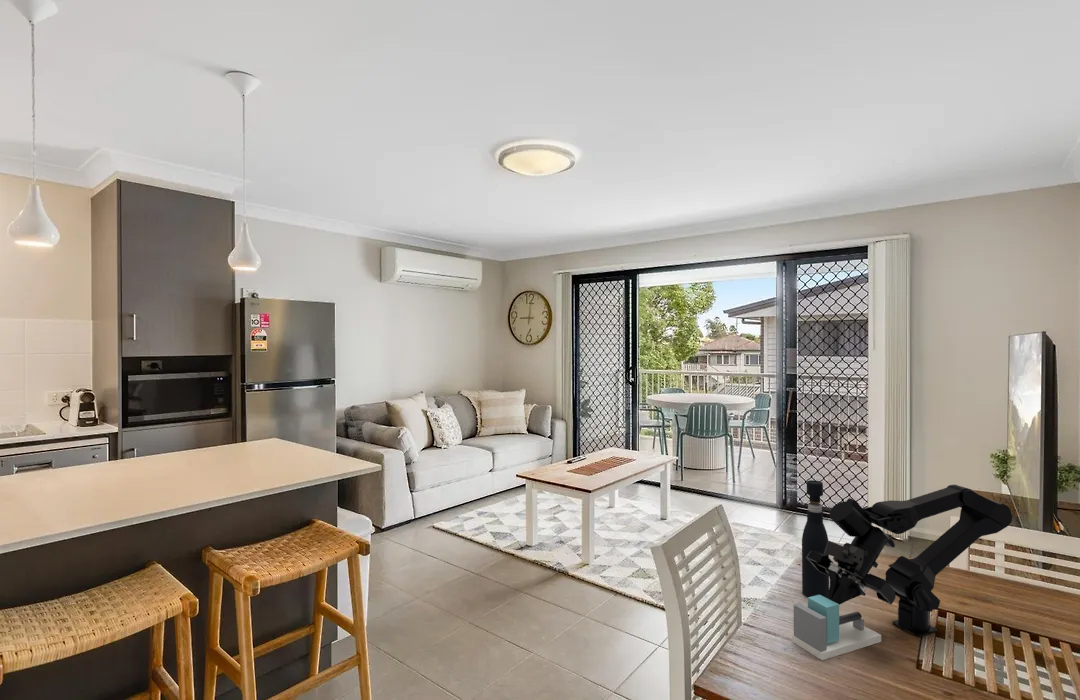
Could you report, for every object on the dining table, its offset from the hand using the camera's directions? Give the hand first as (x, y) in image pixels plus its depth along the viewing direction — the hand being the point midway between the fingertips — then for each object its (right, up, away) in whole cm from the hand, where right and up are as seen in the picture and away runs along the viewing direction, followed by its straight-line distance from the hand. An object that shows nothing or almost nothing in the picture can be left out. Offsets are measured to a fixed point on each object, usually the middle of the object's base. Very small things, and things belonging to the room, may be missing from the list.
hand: (829, 606), depth 120 cm
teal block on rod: (-2, -6, -1) cm, 6 cm away
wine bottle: (+9, -8, +23) cm, 26 cm away
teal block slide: (+2, -8, +1) cm, 8 cm away
